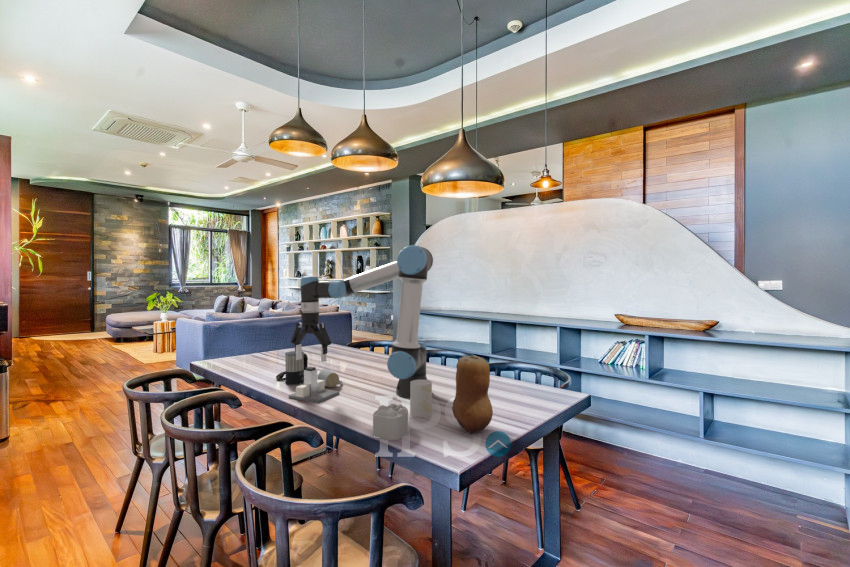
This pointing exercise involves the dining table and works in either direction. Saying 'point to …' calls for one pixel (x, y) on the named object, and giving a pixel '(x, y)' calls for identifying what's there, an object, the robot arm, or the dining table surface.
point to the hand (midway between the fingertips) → (311, 360)
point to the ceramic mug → (329, 378)
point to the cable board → (320, 396)
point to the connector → (311, 379)
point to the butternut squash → (472, 394)
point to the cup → (421, 398)
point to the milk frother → (294, 368)
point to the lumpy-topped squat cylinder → (390, 422)
